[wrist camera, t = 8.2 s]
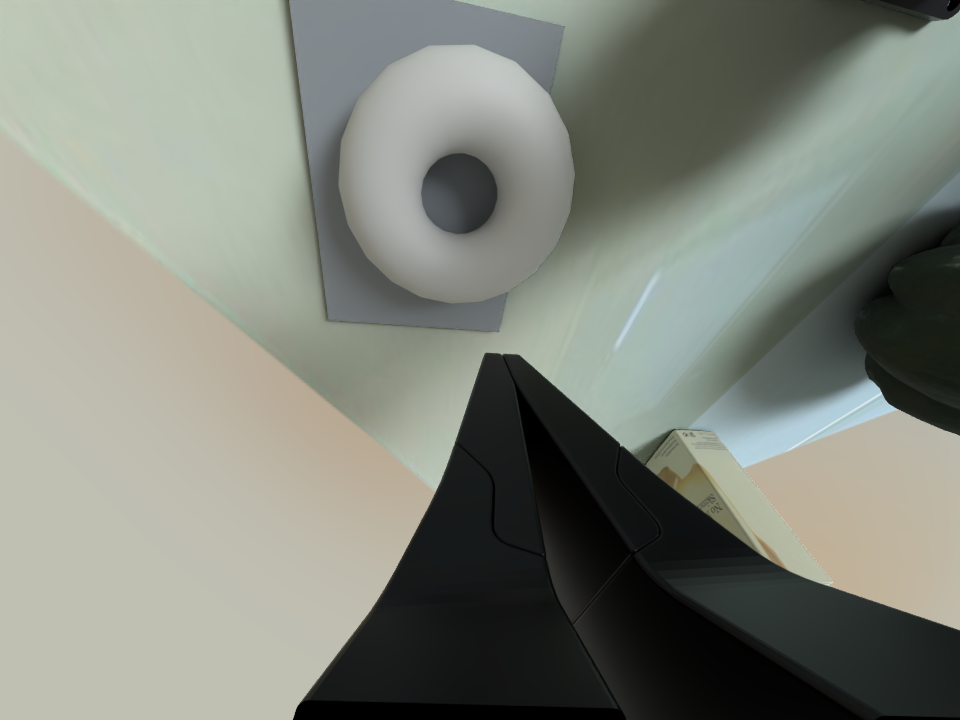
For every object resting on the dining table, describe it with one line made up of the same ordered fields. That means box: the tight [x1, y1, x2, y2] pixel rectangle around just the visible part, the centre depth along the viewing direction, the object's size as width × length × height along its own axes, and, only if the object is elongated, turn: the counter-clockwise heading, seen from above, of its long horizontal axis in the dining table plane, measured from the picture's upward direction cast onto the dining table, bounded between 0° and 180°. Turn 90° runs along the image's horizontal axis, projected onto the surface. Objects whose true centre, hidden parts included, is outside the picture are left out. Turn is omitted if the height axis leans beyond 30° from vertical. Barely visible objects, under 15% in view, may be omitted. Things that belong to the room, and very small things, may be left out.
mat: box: [289, 0, 565, 332], centre depth 17 cm, size 10×14×1 cm
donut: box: [338, 45, 575, 304], centre depth 15 cm, size 10×3×10 cm
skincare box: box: [645, 430, 833, 586], centre depth 28 cm, size 6×4×12 cm
